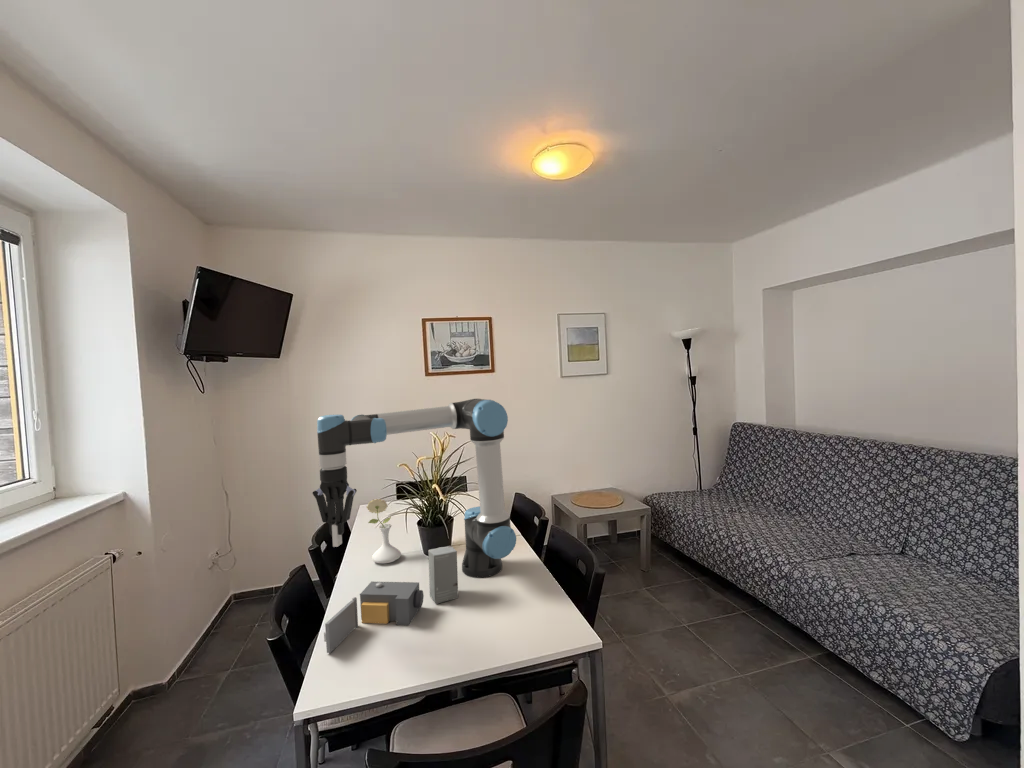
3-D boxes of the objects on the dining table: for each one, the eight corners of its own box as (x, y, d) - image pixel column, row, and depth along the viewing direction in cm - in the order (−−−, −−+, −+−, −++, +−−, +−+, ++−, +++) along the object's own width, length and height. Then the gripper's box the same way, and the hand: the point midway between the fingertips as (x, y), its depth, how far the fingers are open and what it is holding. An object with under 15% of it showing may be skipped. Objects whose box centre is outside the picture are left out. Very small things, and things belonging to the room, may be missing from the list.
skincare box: (435, 605, 142) (433, 556, 141) (428, 595, 148) (426, 549, 147) (460, 598, 146) (457, 550, 145) (452, 588, 152) (450, 543, 151)
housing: (425, 607, 141) (423, 580, 140) (412, 629, 129) (410, 600, 128) (370, 605, 143) (369, 579, 143) (353, 627, 131) (351, 598, 131)
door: (350, 626, 131) (348, 600, 131) (355, 627, 130) (354, 600, 130) (324, 652, 119) (322, 623, 119) (330, 653, 119) (328, 624, 118)
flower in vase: (405, 554, 182) (402, 494, 181) (395, 566, 171) (392, 502, 170) (374, 553, 184) (371, 494, 183) (363, 566, 172) (359, 503, 171)
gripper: (359, 463, 134) (363, 540, 135) (319, 464, 136) (323, 539, 136) (347, 469, 127) (352, 550, 128) (305, 470, 128) (310, 549, 129)
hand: (337, 544), depth 132 cm, fingers closed
